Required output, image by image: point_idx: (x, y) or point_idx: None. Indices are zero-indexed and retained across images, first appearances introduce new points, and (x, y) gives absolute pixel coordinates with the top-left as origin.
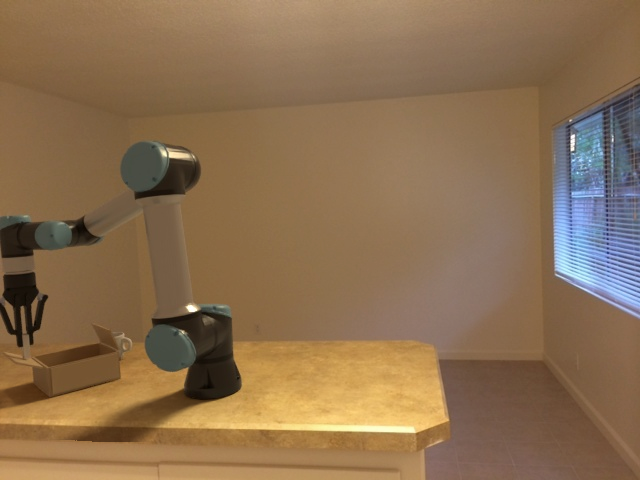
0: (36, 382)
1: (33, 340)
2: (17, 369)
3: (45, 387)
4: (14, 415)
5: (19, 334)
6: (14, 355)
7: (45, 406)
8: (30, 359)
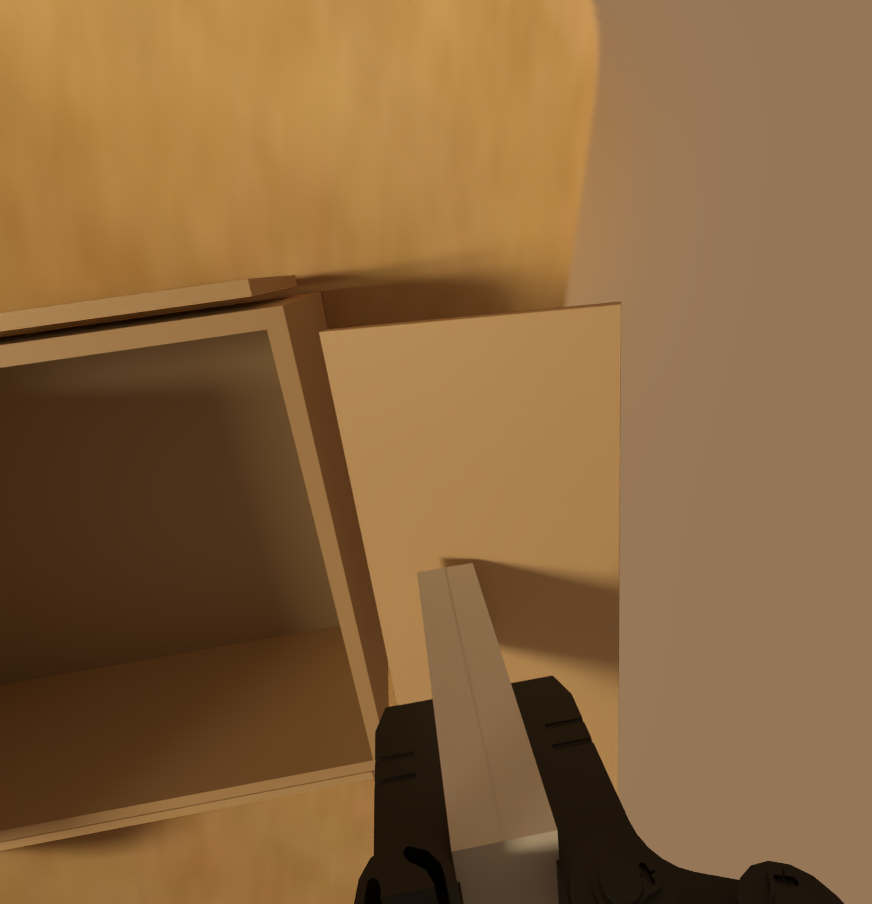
0: None
1: (375, 764)
2: None
3: None
4: (548, 72)
5: (626, 863)
6: None
7: (357, 105)
8: (409, 651)
